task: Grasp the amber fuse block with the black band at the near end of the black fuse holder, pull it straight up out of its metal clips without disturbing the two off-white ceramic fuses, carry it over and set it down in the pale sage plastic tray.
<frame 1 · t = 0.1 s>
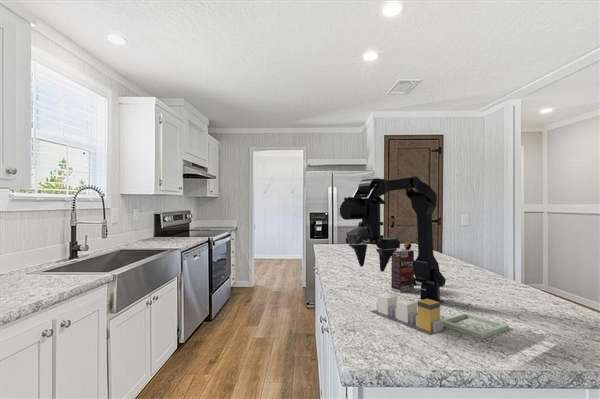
hand: (371, 268, 103), 15 cm above the counter, fingers open, 9 cm apart
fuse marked: (428, 327, 89), point 1 cm above the counter, touching fuse holder
supplement box: (403, 290, 134), on the counter
fuse holder: (406, 324, 95), on the counter
tray: (472, 331, 90), on the counter
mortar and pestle: (408, 284, 144), on the counter
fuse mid: (406, 319, 95), point 1 cm above the counter, touching fuse holder
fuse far: (387, 312, 102), point 1 cm above the counter, touching fuse holder
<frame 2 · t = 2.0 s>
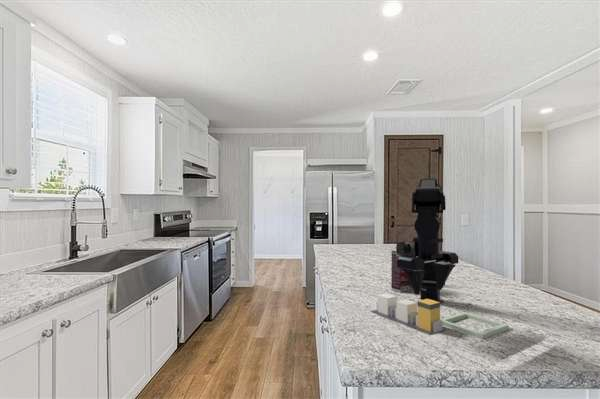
hand: (428, 292, 89), 11 cm above the counter, fingers open, 9 cm apart
nothing on the counter moved.
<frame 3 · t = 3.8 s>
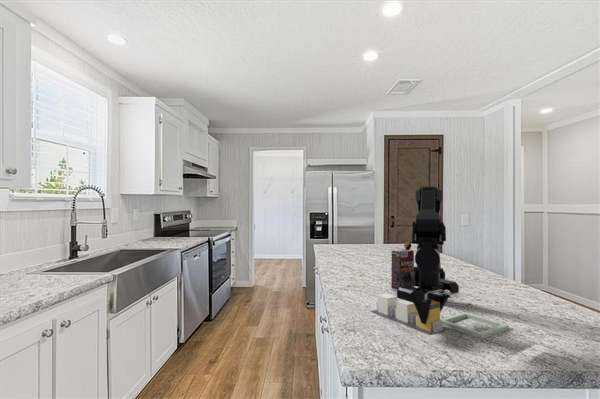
hand: (428, 322, 89), 3 cm above the counter, fingers closed on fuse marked, 4 cm apart
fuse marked: (428, 327, 89), point 1 cm above the counter, touching fuse holder, gripper
everything else where it was.
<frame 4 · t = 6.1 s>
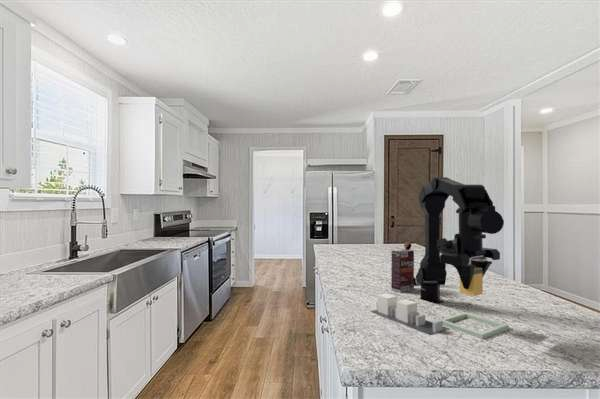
hand: (470, 287, 90), 12 cm above the counter, fingers closed on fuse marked, 4 cm apart
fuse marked: (471, 293, 90), point 10 cm above the counter, touching gripper
everything else where it was.
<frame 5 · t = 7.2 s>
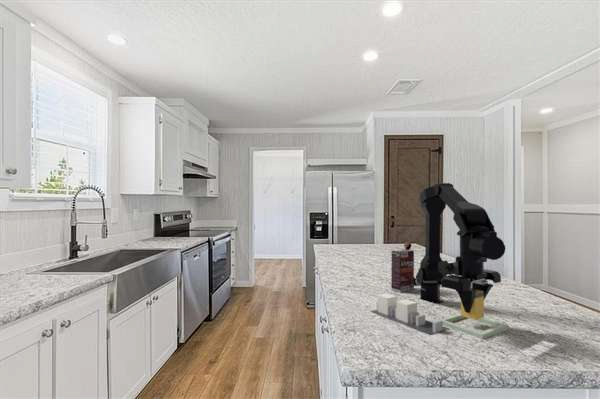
hand: (472, 310, 90), 6 cm above the counter, fingers closed on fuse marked, 4 cm apart
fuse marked: (472, 316, 90), point 4 cm above the counter, touching gripper
everything else where it was.
when the fingers open (3 cm above the counter, at t = 8.4 s): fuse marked drops 1 cm, resting on tray.
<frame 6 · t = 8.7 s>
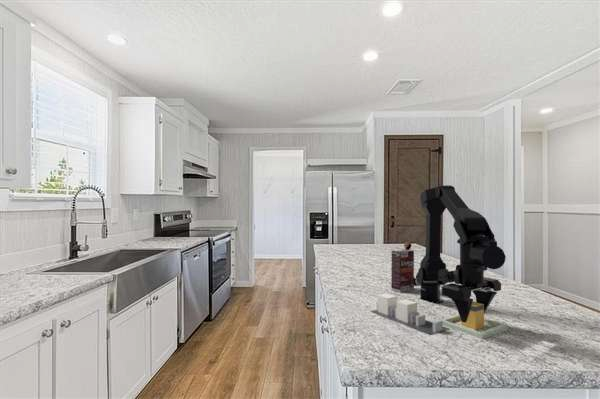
hand: (472, 319, 90), 3 cm above the counter, fingers open, 7 cm apart
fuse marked: (472, 329, 90), point 1 cm above the counter, touching tray
everything else where it was.
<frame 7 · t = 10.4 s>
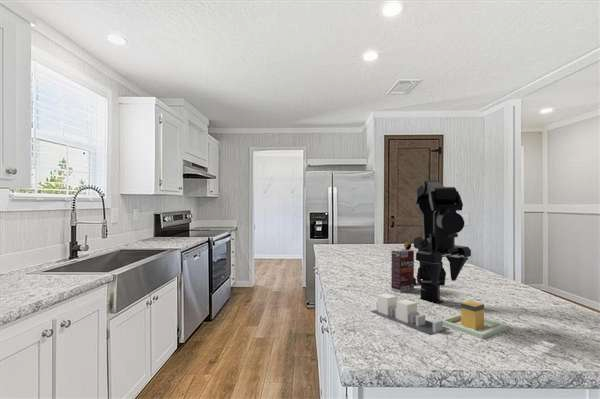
hand: (444, 282, 97), 12 cm above the counter, fingers open, 9 cm apart
nothing on the counter moved.
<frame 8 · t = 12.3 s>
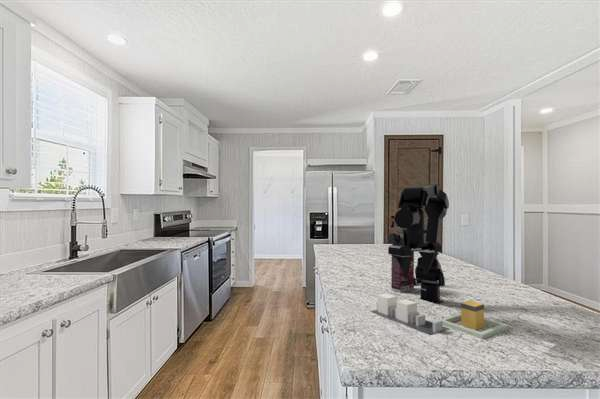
hand: (415, 275, 105), 12 cm above the counter, fingers open, 9 cm apart
nothing on the counter moved.
at the end: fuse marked inside the target area on the tray (0.0 cm from its centre), point 0.6 cm above the tray's base; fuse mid moved 0.0 cm from its start; the gripper is holding nothing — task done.
